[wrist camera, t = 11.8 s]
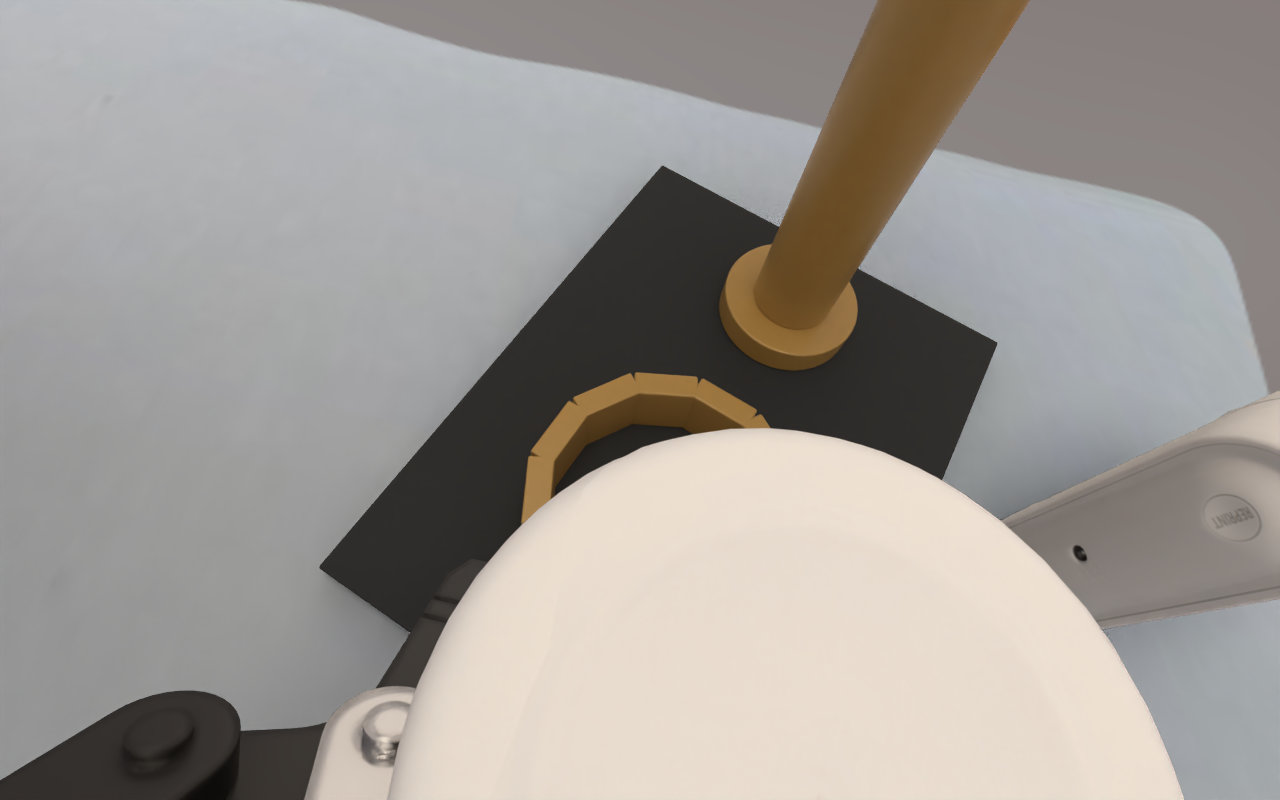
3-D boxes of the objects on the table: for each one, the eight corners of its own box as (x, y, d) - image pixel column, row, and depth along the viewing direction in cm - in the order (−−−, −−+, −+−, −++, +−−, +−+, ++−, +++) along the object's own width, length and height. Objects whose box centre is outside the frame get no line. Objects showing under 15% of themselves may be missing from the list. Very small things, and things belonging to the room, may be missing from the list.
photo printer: (1010, 659, 22) (1464, 594, 11) (945, 538, 24) (1281, 374, 13) (1235, 563, 24) (1794, 430, 13) (1161, 459, 26) (1603, 264, 15)
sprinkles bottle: (751, 771, 15) (1429, 922, 3) (588, 916, 14) (788, 2130, 2) (638, 604, 17) (841, 297, 5) (479, 719, 15) (192, 686, 3)
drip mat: (326, 572, 21) (317, 567, 20) (659, 178, 30) (662, 164, 29) (767, 883, 18) (776, 889, 18) (987, 352, 27) (998, 342, 27)
